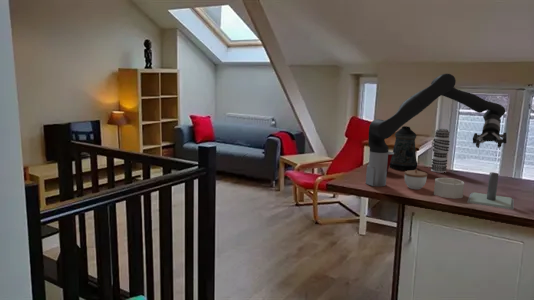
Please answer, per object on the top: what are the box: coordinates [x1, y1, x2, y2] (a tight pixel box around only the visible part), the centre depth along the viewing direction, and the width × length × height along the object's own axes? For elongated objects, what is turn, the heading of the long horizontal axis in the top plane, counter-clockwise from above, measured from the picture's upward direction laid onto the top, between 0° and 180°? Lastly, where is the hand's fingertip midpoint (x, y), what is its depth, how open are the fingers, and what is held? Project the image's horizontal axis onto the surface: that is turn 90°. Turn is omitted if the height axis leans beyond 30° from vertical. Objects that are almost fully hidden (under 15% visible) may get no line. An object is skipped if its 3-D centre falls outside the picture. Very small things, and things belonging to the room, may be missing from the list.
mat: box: [466, 192, 515, 211], centre depth 192 cm, size 18×18×1 cm
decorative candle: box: [430, 128, 451, 174], centre depth 250 cm, size 9×9×25 cm
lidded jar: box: [404, 168, 428, 190], centre depth 213 cm, size 11×11×9 cm
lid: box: [470, 171, 512, 210], centre depth 191 cm, size 16×16×13 cm
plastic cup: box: [387, 150, 394, 173], centre depth 247 cm, size 11×11×12 cm
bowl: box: [433, 177, 465, 199], centre depth 201 cm, size 12×12×7 cm
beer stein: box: [389, 125, 419, 171], centre depth 258 cm, size 16×19×25 cm
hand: (488, 146), depth 198 cm, fingers open, 8 cm apart
